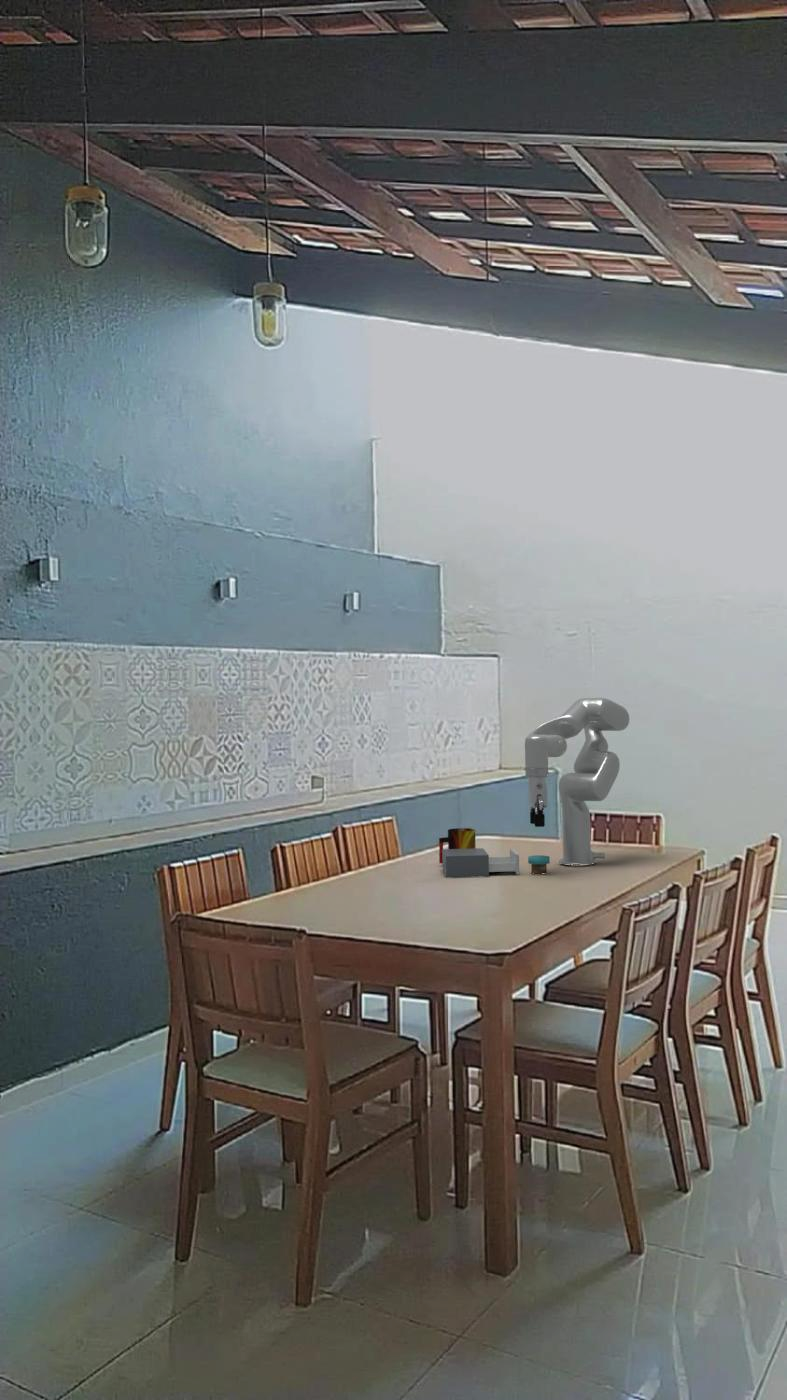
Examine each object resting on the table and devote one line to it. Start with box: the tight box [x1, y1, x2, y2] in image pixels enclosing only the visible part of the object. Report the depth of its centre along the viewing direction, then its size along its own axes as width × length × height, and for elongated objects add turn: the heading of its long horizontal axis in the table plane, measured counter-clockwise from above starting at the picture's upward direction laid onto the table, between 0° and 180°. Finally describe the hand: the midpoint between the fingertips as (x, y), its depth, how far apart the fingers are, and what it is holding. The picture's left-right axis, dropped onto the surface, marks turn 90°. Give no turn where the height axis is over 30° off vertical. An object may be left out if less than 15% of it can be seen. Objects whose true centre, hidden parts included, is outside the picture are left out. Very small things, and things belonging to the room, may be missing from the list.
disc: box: [527, 854, 551, 865], centre depth 383 cm, size 7×7×2 cm
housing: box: [442, 847, 490, 878], centre depth 388 cm, size 14×17×7 cm
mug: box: [438, 827, 477, 864], centre depth 408 cm, size 10×14×12 cm
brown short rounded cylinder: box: [530, 864, 548, 875], centre depth 383 cm, size 5×5×4 cm
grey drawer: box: [489, 848, 520, 875], centre depth 388 cm, size 13×15×6 cm
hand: (537, 825), depth 383 cm, fingers open, 9 cm apart
